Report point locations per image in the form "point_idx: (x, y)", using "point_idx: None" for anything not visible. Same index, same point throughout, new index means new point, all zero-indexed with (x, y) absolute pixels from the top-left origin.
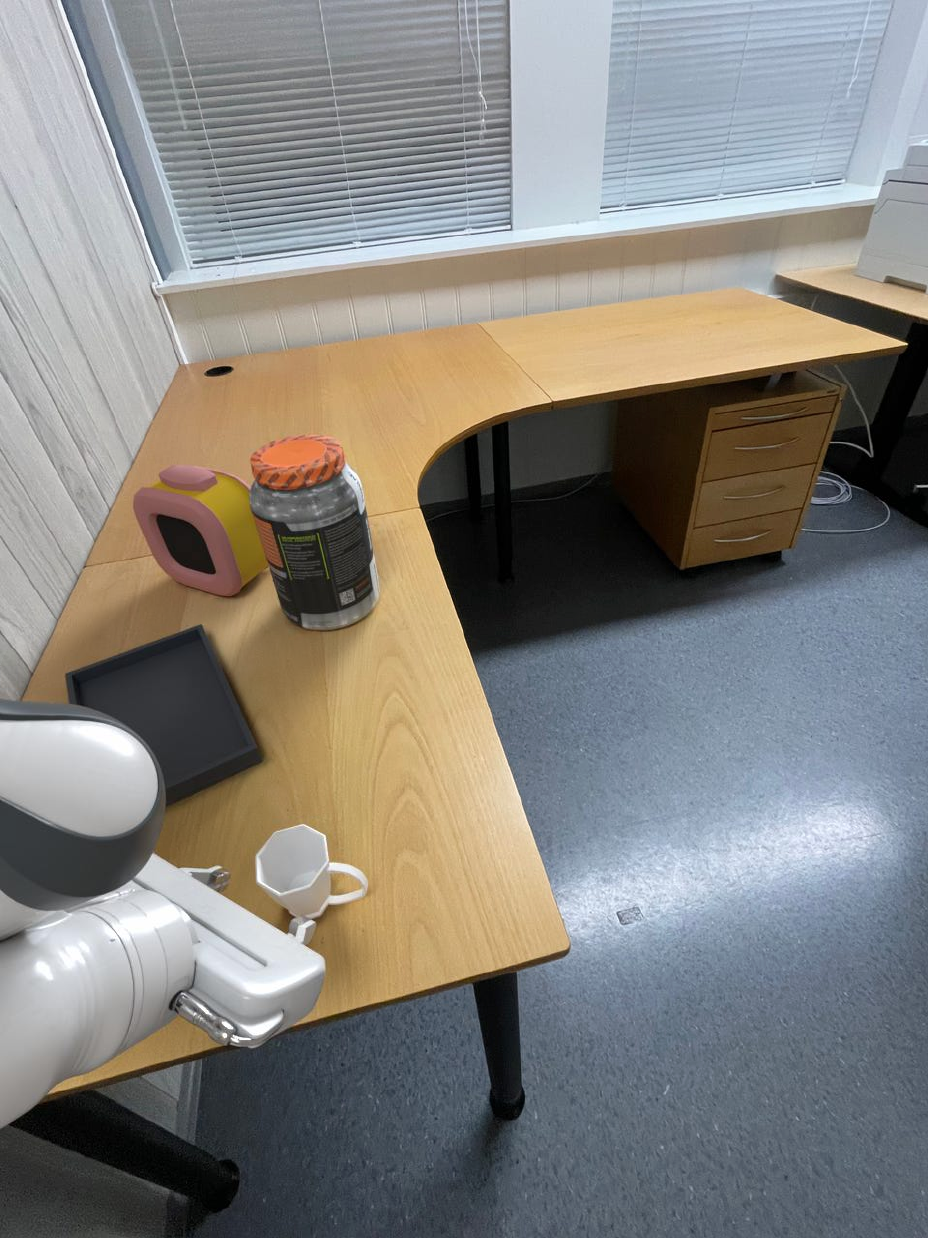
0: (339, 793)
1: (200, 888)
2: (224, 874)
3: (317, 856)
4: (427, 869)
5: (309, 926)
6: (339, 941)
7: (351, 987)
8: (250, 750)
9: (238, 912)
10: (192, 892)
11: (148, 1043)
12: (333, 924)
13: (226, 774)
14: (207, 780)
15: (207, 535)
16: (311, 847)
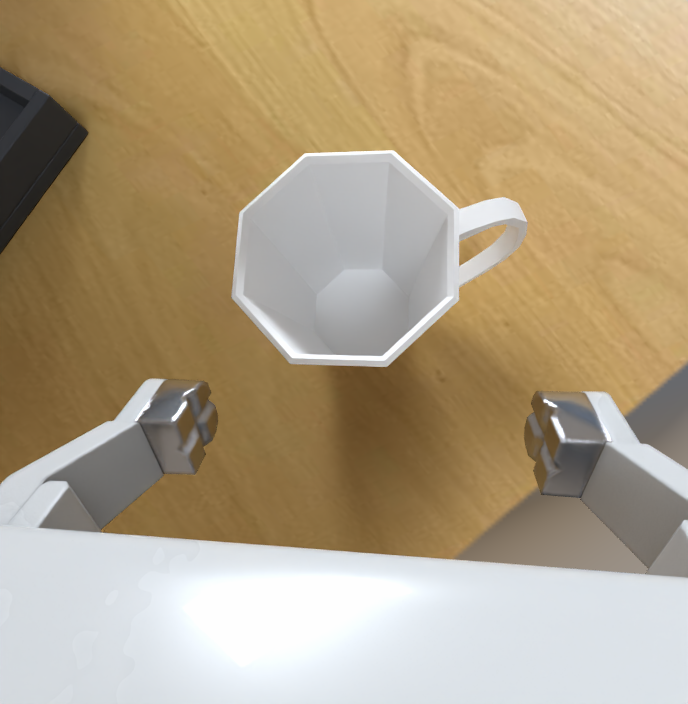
0: (282, 115)
1: (139, 607)
2: (187, 398)
3: (361, 230)
4: (555, 162)
5: (624, 421)
6: (474, 363)
7: None
8: (40, 108)
9: (478, 642)
10: (105, 694)
11: None
12: (441, 340)
13: (34, 186)
14: (3, 214)
15: None
16: (342, 214)
